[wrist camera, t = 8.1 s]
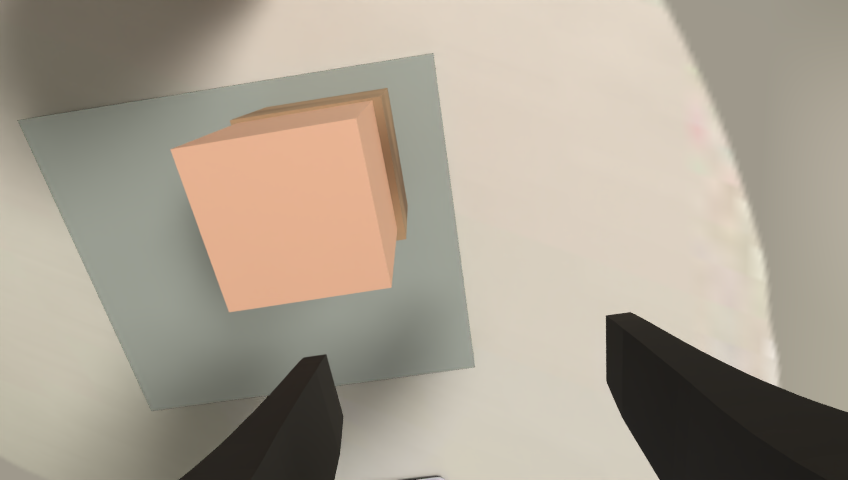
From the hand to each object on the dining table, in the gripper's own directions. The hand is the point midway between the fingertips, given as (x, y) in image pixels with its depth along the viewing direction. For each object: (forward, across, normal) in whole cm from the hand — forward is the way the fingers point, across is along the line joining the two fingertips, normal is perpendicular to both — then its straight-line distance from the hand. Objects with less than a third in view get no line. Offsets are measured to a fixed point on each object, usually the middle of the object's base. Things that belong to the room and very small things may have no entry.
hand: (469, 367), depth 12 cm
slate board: (+10, +8, 0) cm, 13 cm away
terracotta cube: (+6, +4, -4) cm, 8 cm away
